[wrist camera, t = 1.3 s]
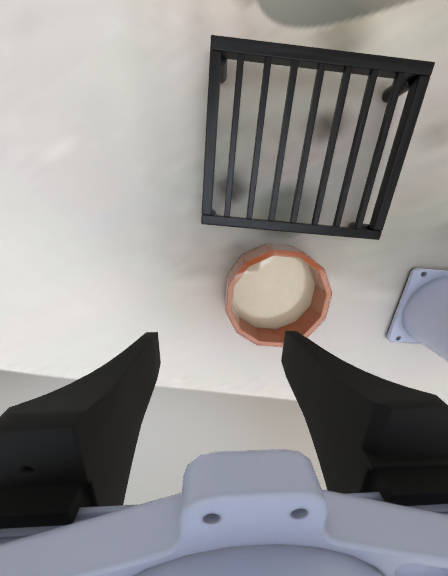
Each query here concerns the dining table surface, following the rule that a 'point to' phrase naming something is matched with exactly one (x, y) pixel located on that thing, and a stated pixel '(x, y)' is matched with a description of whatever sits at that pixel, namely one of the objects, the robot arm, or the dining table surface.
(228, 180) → the rack
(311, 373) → the robot arm
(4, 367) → the dining table surface
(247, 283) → the terracotta bowl
